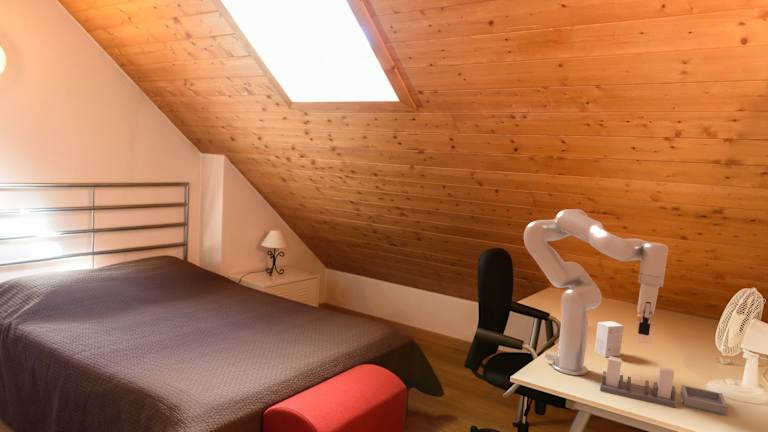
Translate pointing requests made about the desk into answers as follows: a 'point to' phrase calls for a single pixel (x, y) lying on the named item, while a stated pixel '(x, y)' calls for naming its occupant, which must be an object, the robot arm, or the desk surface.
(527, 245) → the robot arm
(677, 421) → the desk surface
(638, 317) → the marked fuse
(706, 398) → the grey tray
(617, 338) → the small box
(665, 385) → the fuse holder
